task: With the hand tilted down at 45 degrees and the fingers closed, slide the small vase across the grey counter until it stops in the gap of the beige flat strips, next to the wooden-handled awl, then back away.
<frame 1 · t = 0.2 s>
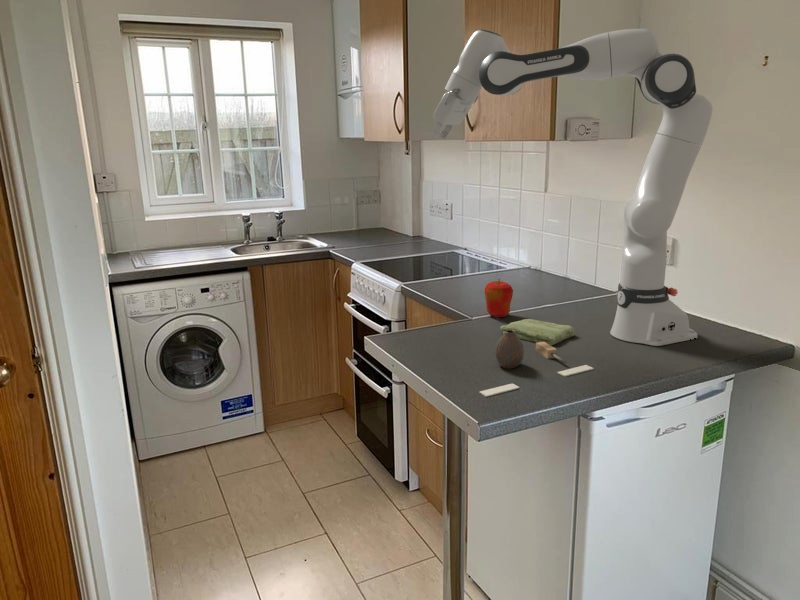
hand: (438, 137, 169), 54 cm above the worktop, tool tilted 30°, fingers open, 8 cm apart
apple: (498, 316, 188), on the worktop
vase: (509, 366, 148), on the worktop
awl: (551, 358, 152), on the worktop
washcloth: (536, 336, 170), on the worktop
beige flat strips: (538, 380, 139), on the worktop
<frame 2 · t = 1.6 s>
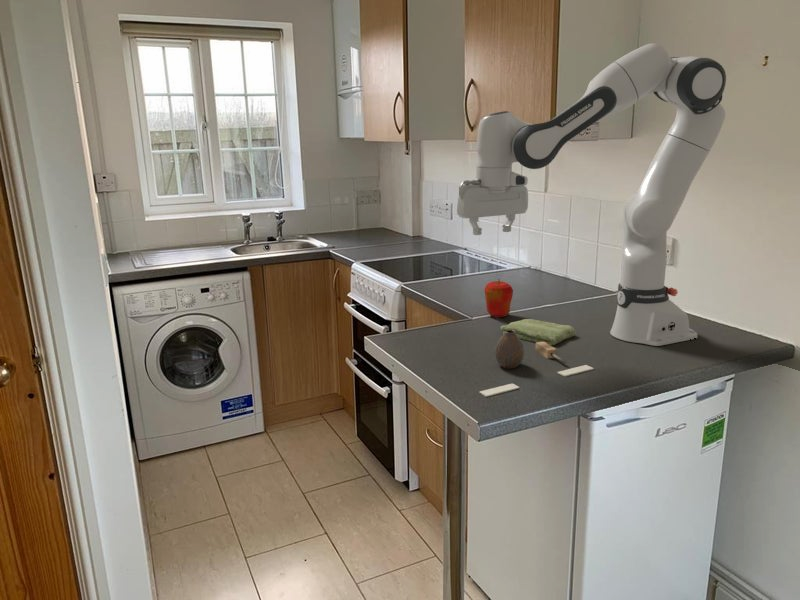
hand: (492, 233, 157), 30 cm above the worktop, tool pointing down, fingers open, 8 cm apart
nothing on the worktop moved.
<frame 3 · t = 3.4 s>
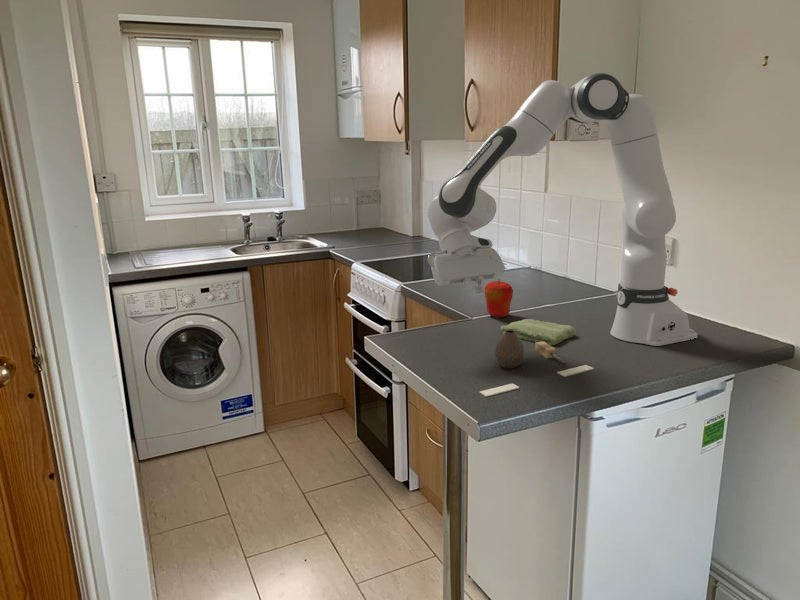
hand: (479, 294, 155), 15 cm above the worktop, tool tilted 45°, fingers closed
nothing on the worktop moved.
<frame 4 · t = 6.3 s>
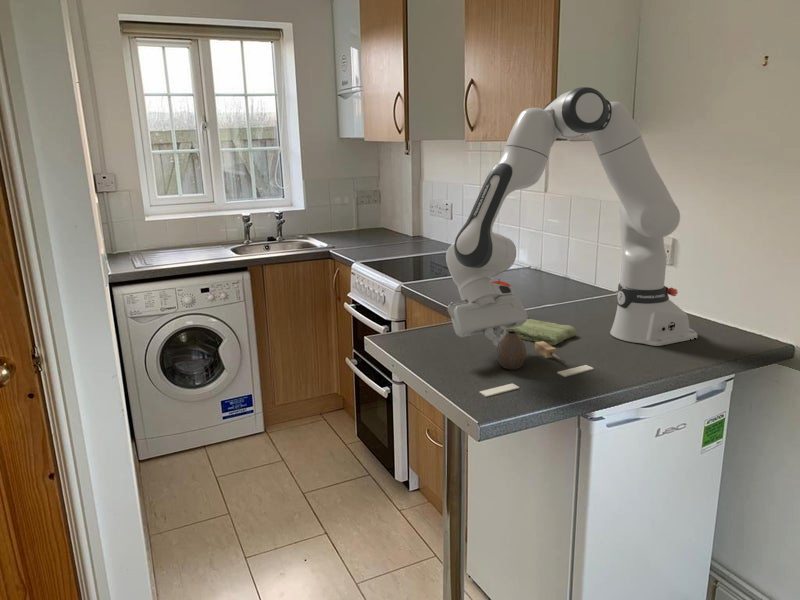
hand: (501, 345, 150), 4 cm above the worktop, tool tilted 45°, fingers closed, pressing on vase
vase: (511, 367, 147), on the worktop, touching gripper
everything else where it was.
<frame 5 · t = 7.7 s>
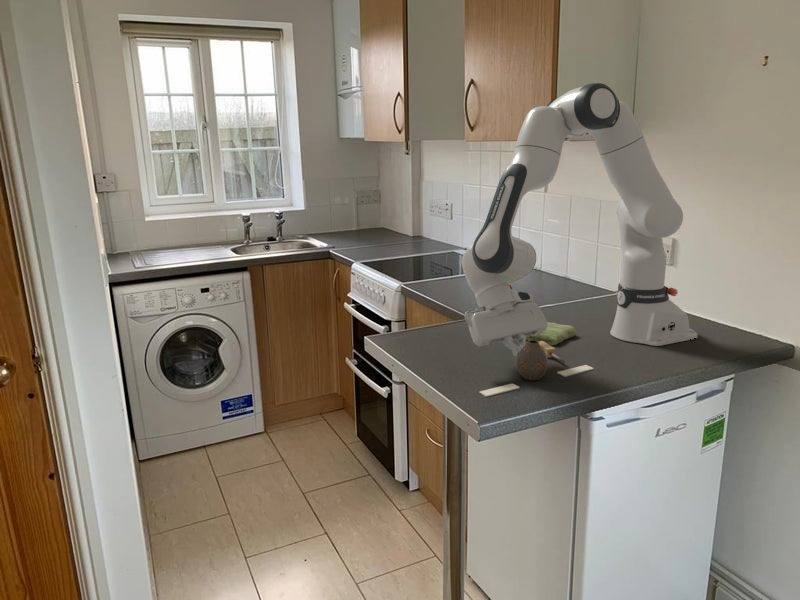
hand: (521, 354, 143), 4 cm above the worktop, tool tilted 45°, fingers closed, pressing on vase
vase: (531, 378, 141), on the worktop, touching gripper
everything else where it was.
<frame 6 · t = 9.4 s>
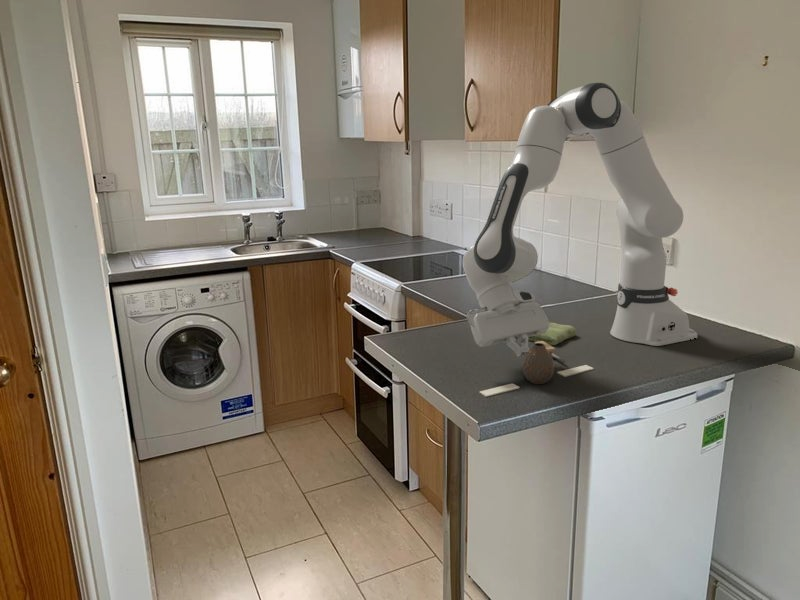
hand: (524, 354, 142), 5 cm above the worktop, tool tilted 45°, fingers closed
vase: (537, 381, 139), on the worktop
everything else where it was.
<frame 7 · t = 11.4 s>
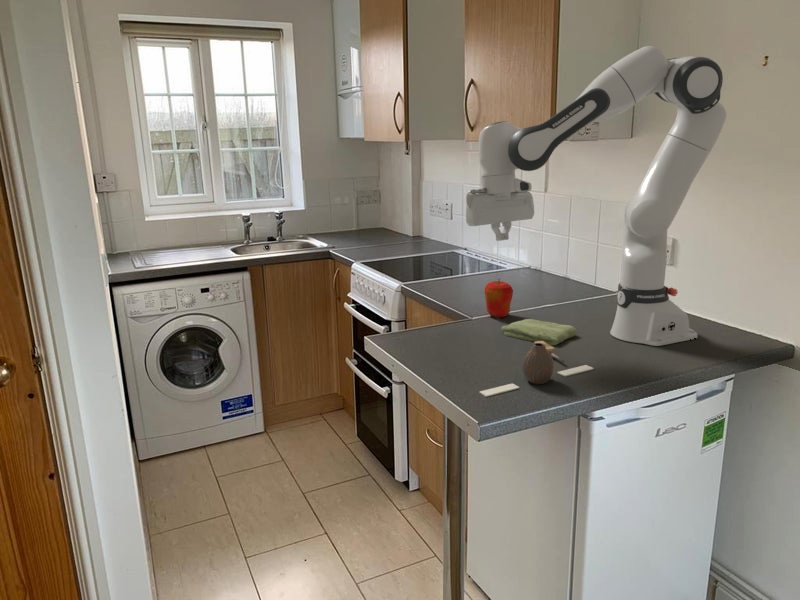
hand: (502, 240, 160), 27 cm above the worktop, tool pointing down, fingers closed
nothing on the worktop moved.
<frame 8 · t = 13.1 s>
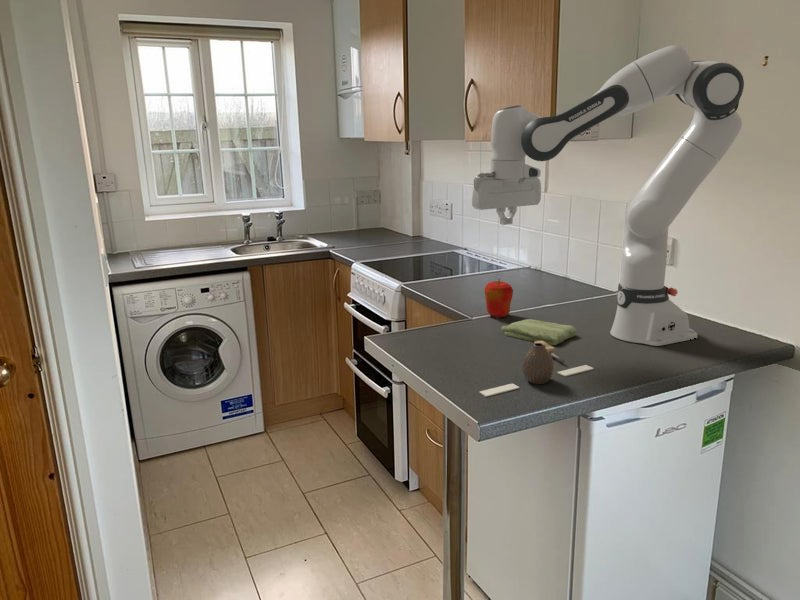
hand: (506, 224, 162), 31 cm above the worktop, tool pointing down, fingers closed
nothing on the worktop moved.
at the end: vase inside the target area on the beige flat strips (0.8 cm from its centre), point 0.0 cm above the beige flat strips's base; vase tilted 0°; vase moved 10.9 cm from its start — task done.
